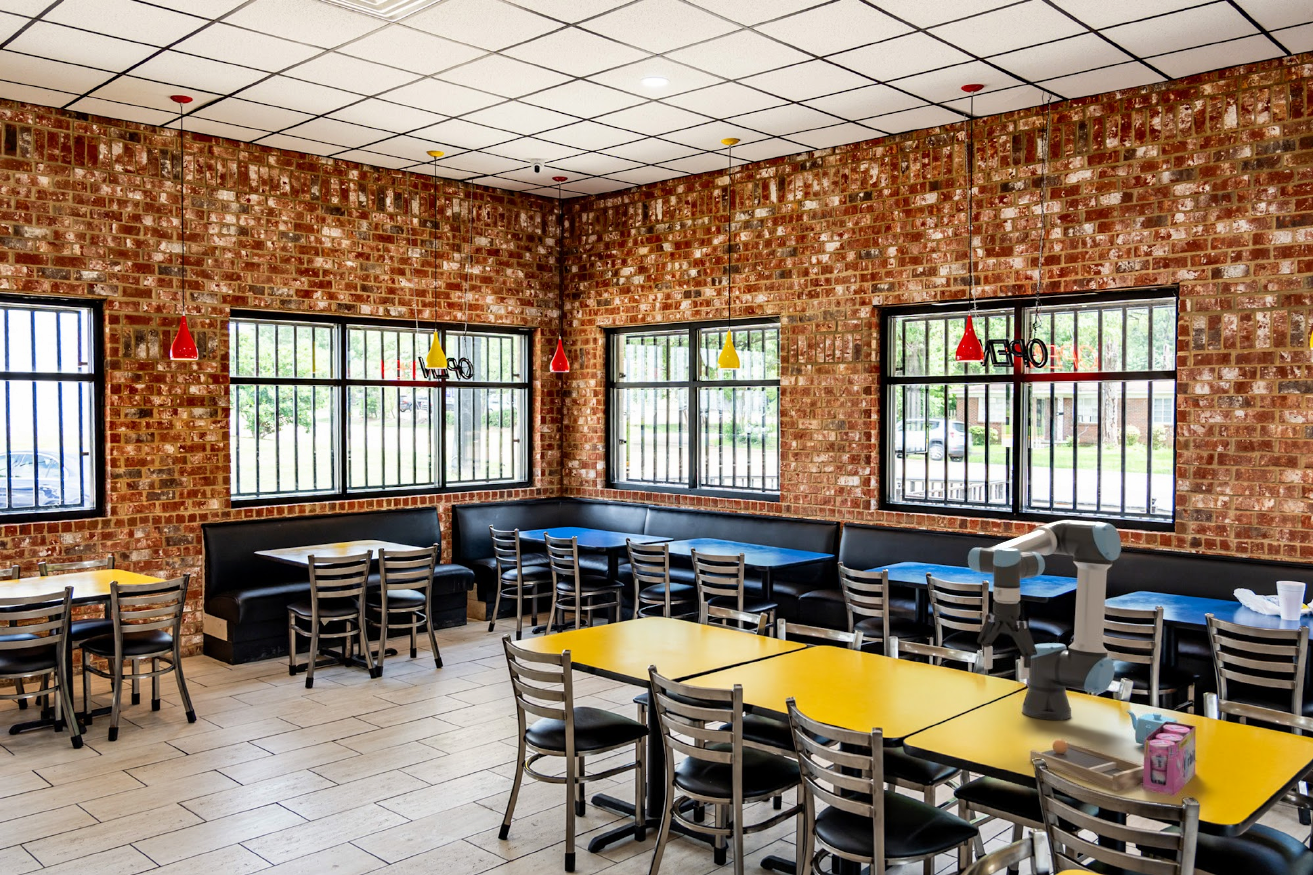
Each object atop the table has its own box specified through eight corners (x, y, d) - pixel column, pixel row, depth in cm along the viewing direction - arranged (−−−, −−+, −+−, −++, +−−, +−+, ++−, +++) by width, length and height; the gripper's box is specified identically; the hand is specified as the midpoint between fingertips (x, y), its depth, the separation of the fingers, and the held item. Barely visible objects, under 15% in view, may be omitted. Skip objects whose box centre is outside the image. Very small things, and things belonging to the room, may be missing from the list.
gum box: (1173, 799, 262) (1174, 746, 262) (1140, 791, 267) (1141, 740, 267) (1196, 774, 280) (1196, 725, 280) (1164, 768, 285) (1165, 720, 285)
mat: (1065, 752, 298) (1065, 746, 298) (1147, 779, 275) (1147, 772, 275) (1033, 760, 290) (1033, 754, 290) (1115, 788, 268) (1115, 781, 268)
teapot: (1196, 750, 300) (1196, 715, 300) (1178, 760, 291) (1178, 725, 291) (1134, 736, 314) (1134, 703, 314) (1114, 745, 304) (1114, 712, 304)
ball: (1058, 750, 294) (1058, 736, 294) (1070, 754, 290) (1070, 740, 290) (1049, 752, 292) (1049, 739, 292) (1061, 756, 288) (1061, 742, 288)
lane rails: (1068, 751, 298) (1068, 738, 298) (1154, 779, 275) (1155, 765, 275) (1030, 761, 290) (1030, 747, 290) (1116, 790, 266) (1116, 775, 266)
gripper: (965, 595, 308) (964, 666, 308) (1032, 609, 286) (1031, 684, 286) (983, 594, 311) (982, 663, 312) (1050, 606, 290) (1049, 681, 290)
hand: (1006, 673), depth 299 cm, fingers open, 13 cm apart
